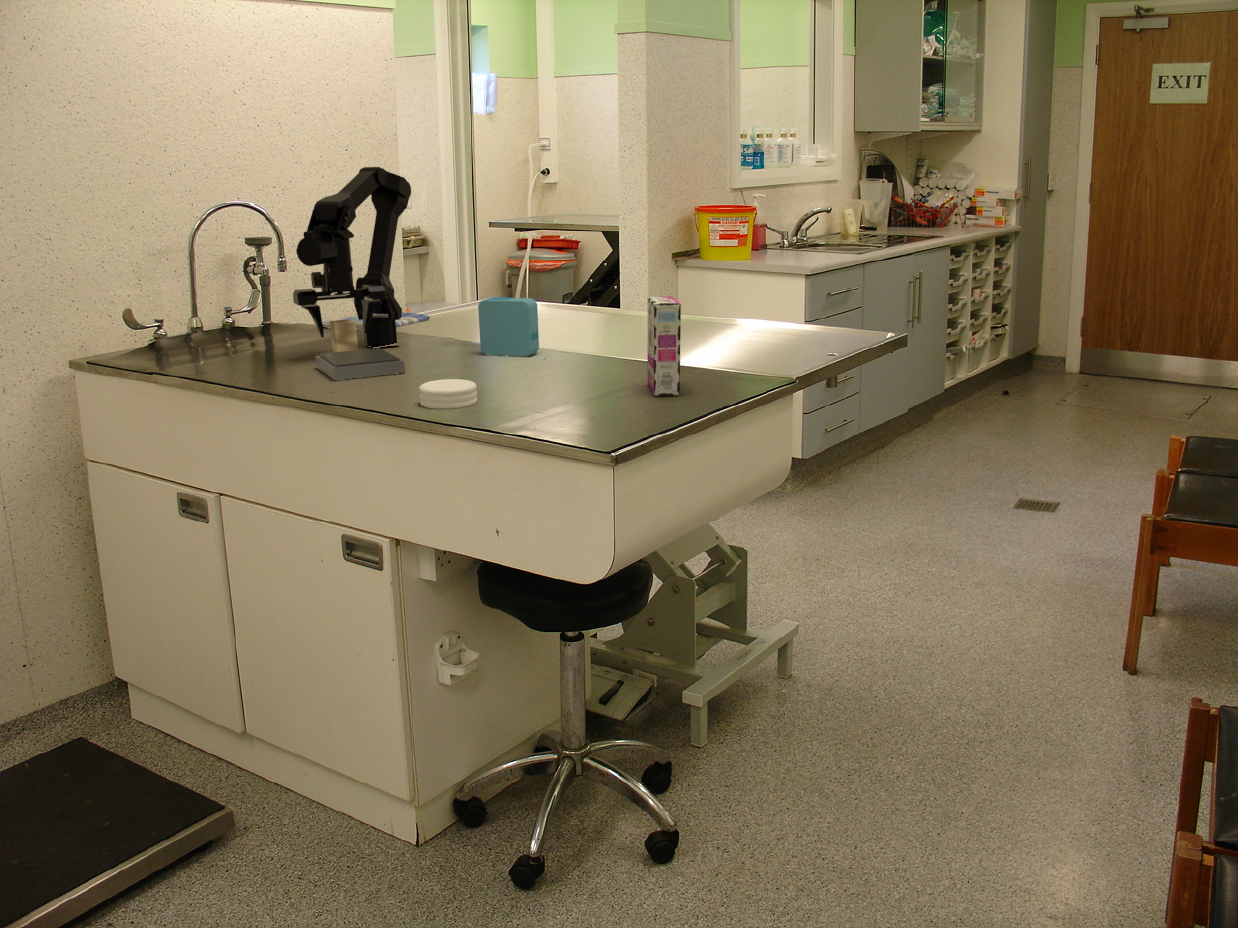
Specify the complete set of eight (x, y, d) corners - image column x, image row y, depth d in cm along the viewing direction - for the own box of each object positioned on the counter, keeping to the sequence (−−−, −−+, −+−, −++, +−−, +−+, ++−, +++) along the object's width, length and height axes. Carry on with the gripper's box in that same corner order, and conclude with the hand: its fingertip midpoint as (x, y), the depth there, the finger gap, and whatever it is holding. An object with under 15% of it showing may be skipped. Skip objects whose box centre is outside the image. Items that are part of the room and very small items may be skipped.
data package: (539, 353, 235) (537, 298, 231) (531, 357, 231) (529, 301, 227) (489, 351, 239) (486, 297, 235) (480, 355, 234) (477, 299, 231)
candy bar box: (682, 396, 191) (681, 303, 186) (653, 397, 191) (652, 304, 186) (673, 383, 202) (673, 295, 197) (646, 384, 201) (645, 296, 197)
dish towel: (318, 330, 276) (317, 319, 275) (382, 318, 295) (381, 308, 295) (369, 335, 267) (368, 323, 267) (431, 322, 287) (430, 311, 286)
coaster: (435, 396, 195) (434, 377, 194) (486, 399, 193) (485, 379, 192) (409, 408, 186) (408, 388, 185) (462, 411, 183) (461, 391, 182)
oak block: (353, 355, 236) (350, 319, 234) (358, 359, 233) (355, 322, 230) (333, 357, 234) (329, 321, 232) (337, 361, 231) (334, 323, 228)
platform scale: (383, 361, 229) (382, 347, 228) (405, 373, 216) (403, 358, 215) (316, 368, 223) (315, 353, 222) (334, 381, 209) (333, 365, 209)
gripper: (371, 256, 239) (376, 326, 243) (284, 261, 231) (292, 334, 235) (384, 260, 229) (390, 333, 234) (295, 265, 221) (302, 341, 225)
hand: (343, 335), depth 232 cm, fingers open, 9 cm apart
